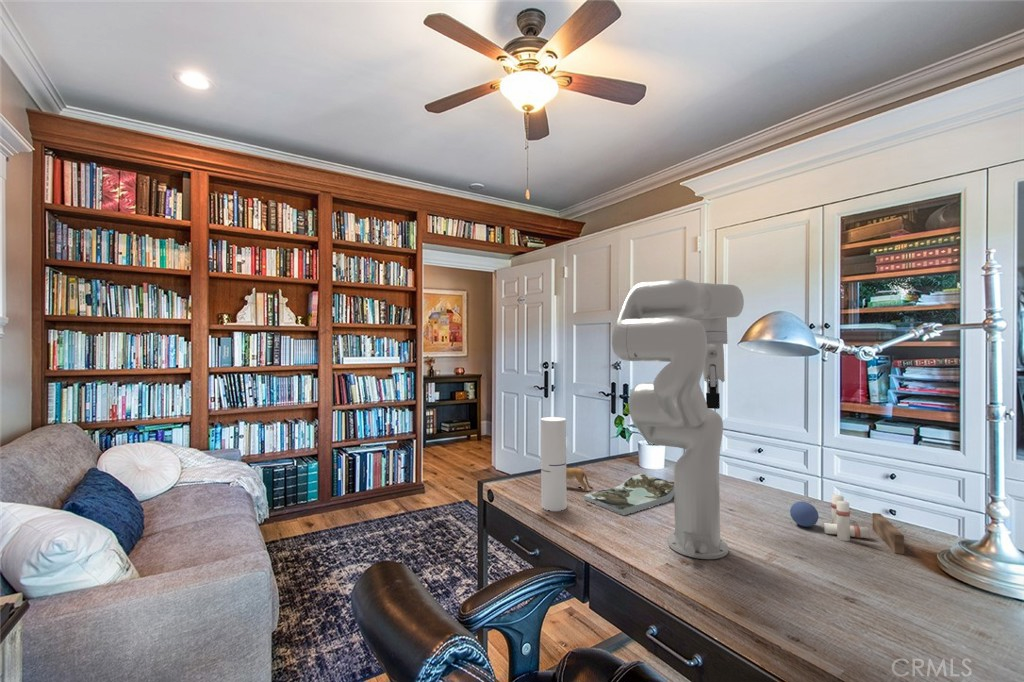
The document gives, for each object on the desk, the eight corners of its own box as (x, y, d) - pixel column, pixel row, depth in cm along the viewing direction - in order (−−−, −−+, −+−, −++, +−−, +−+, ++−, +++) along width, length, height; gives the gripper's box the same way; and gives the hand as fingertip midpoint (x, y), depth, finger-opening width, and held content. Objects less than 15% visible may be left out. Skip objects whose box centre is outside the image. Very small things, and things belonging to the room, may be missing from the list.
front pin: (826, 535, 108) (870, 540, 104) (825, 524, 108) (869, 529, 104) (823, 531, 110) (866, 536, 107) (823, 520, 110) (866, 525, 107)
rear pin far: (845, 533, 108) (845, 498, 108) (832, 532, 109) (832, 497, 109) (842, 529, 111) (842, 495, 111) (829, 528, 112) (829, 493, 112)
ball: (807, 493, 113) (790, 507, 112) (828, 514, 110) (811, 528, 109) (797, 500, 118) (781, 513, 117) (817, 520, 115) (801, 534, 113)
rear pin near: (852, 542, 104) (851, 505, 104) (838, 540, 105) (837, 503, 105) (848, 537, 106) (847, 501, 106) (835, 536, 107) (834, 500, 107)
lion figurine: (546, 488, 145) (546, 460, 145) (550, 484, 150) (549, 457, 150) (592, 493, 141) (591, 464, 141) (594, 487, 146) (594, 460, 146)
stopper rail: (904, 554, 97) (903, 535, 97) (895, 553, 98) (894, 534, 98) (880, 530, 110) (880, 513, 110) (872, 529, 111) (872, 512, 111)
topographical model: (624, 518, 121) (621, 499, 121) (585, 508, 134) (583, 491, 134) (683, 495, 135) (681, 478, 135) (643, 488, 148) (641, 473, 148)
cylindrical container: (565, 512, 124) (564, 421, 125) (539, 510, 126) (539, 420, 126) (567, 503, 131) (566, 417, 132) (543, 501, 133) (542, 416, 133)
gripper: (729, 338, 111) (730, 412, 111) (726, 339, 125) (727, 405, 124) (696, 338, 114) (697, 411, 114) (696, 339, 128) (697, 404, 127)
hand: (712, 408), depth 119 cm, fingers closed
